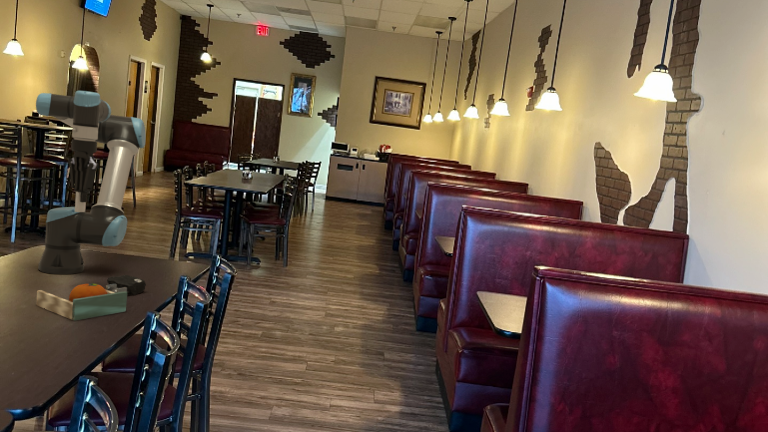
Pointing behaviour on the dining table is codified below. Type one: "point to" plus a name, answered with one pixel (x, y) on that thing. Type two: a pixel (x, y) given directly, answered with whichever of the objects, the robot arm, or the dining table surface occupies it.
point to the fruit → (86, 291)
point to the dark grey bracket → (113, 288)
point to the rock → (128, 283)
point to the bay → (83, 305)
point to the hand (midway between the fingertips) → (79, 211)
